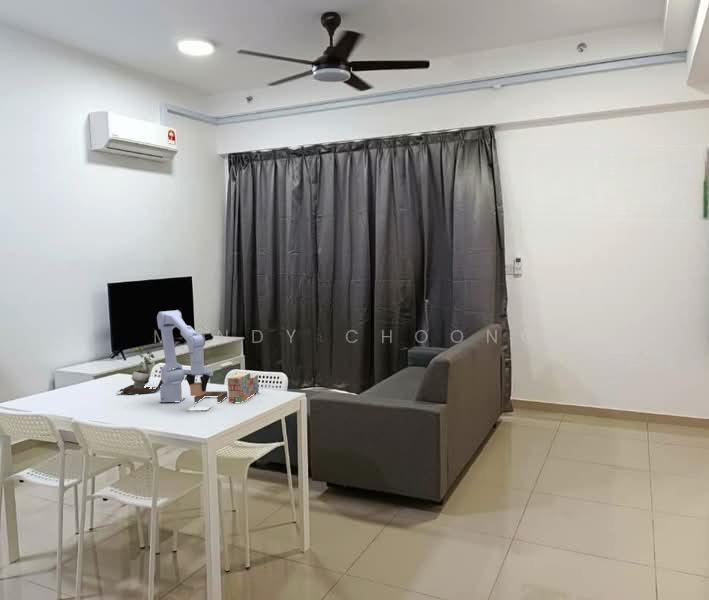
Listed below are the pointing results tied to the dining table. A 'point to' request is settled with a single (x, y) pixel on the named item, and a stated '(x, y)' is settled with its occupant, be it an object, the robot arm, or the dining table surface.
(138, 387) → the potted plant
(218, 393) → the cubby
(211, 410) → the dining table surface
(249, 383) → the stack of blocks
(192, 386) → the cube
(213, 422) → the dining table surface
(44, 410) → the dining table surface
